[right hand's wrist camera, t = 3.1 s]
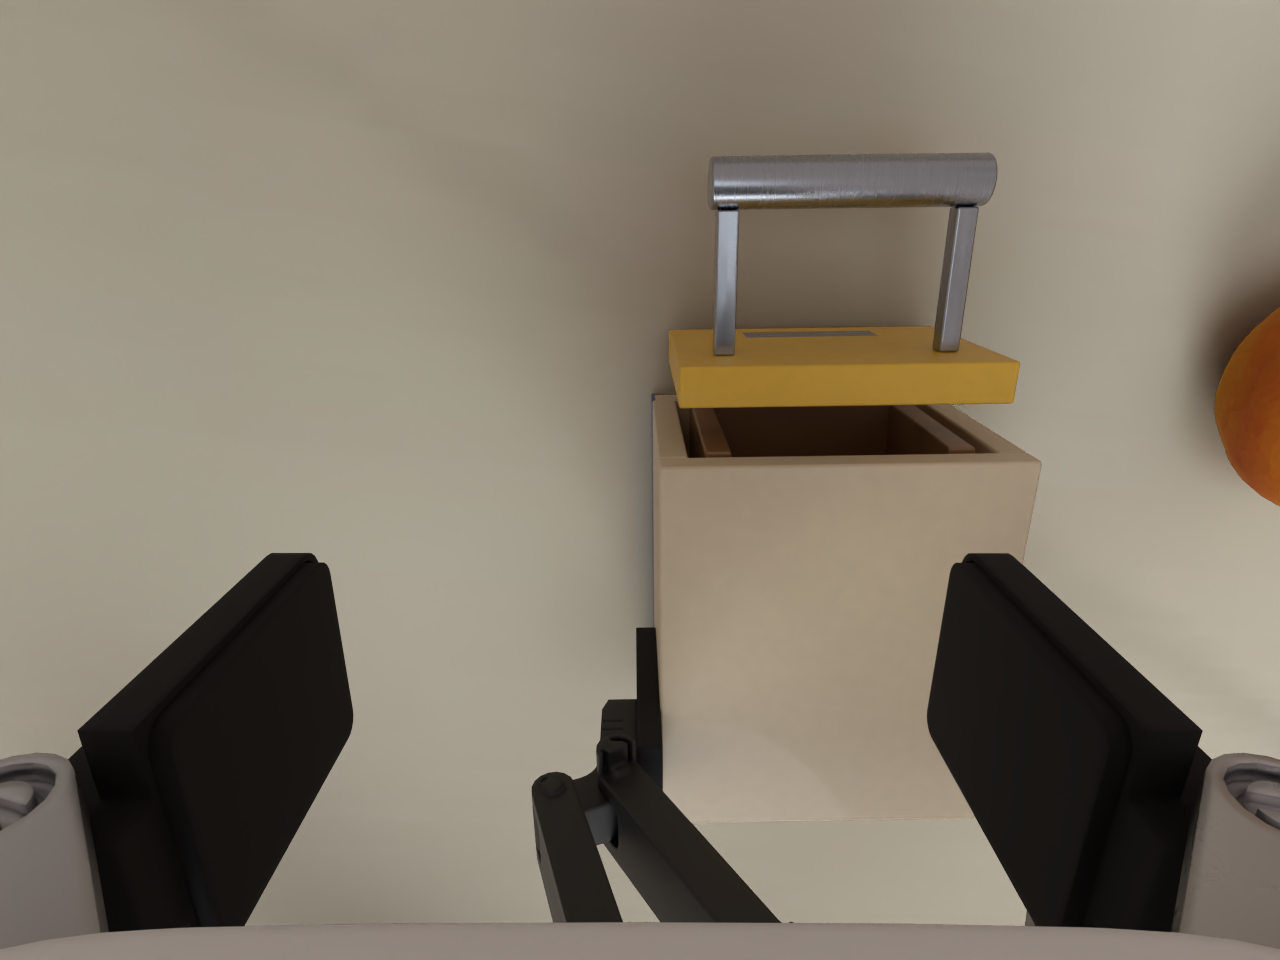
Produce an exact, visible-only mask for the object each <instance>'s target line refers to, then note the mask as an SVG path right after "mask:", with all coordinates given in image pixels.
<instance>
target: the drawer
mask: <svg viewBox="0 0 1280 960" xmlns="http://www.w3.org/2000/svg"><path fill="white" fill-rule="evenodd" d="M996 180H997V162H996V159H995V157H994V155H993V154H991V153H935V154H862V155H789V156H717V157H711V159H710V162H709V170H708V204H709V208H710V209H711V210H716V219H715V265H714V310H713V329H700V330H669V364H670V369H671V373H672V377H673V382H674V386H675V390H676V394H677V399H678V403H679V407H680V408H690V441H689V458H722V457H787V456H853V455H918V454H974V453H975V448H974V447H973V446H971V445H970V444H968V443H967V442H966V441H964V440H963V439H961V438H960V437H958V436H957V435H956V434H954V433H953V432H951V431H950V430H948V429H947V428H946V427H944V426H943V425H941V424H940V423H939V422H937V421H936V420H934V419H933V418H931V417H930V416H929V415H927V414H926V413H924V412H923V411H922V410H920V409H919V408H917V407H916V406H914V405H938V404H1004V403H1013V401H1014V395H1015V389H1016V383H1017V378H1018V372H1019V366H1020V362H1018V361H1016V360H1013V359H1011V358H1008V357H1006V356H1003V355H1001V354H998V353H996V352H993V351H991V350H988V349H986V348H983V347H981V346H978V345H976V344H973V343H971V342H968V341H966V340H963V339H961V338H960V336H961V329H962V322H963V315H964V308H965V301H966V294H967V287H968V280H969V273H970V266H971V259H972V252H973V244H974V237H975V230H976V223H977V216H978V207H976V206H983V205H985V204H986V203H987V202H988V201H989V200H990V198H991V196H992V194H993V191H994V189H995V185H996ZM892 207H951V208H950V214H949V221H948V229H947V237H946V245H945V252H944V260H943V268H942V276H941V284H940V291H939V299H938V307H937V315H936V323H935V328H933V327H931V326H904V327H836V328H768V329H735V328H736V298H737V268H738V237H739V210H749V209H821V208H892Z"/></svg>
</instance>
